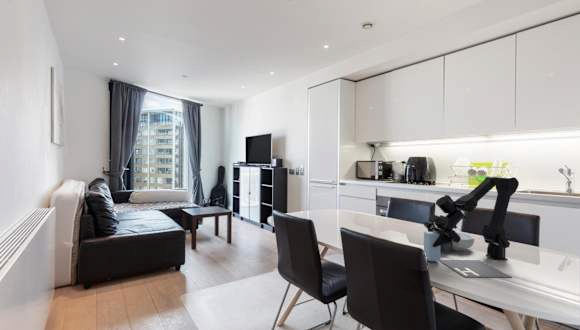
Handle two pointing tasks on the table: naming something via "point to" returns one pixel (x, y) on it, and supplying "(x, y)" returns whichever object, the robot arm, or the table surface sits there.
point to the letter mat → (474, 269)
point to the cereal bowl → (463, 242)
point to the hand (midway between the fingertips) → (429, 244)
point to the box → (446, 247)
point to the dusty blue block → (431, 251)
